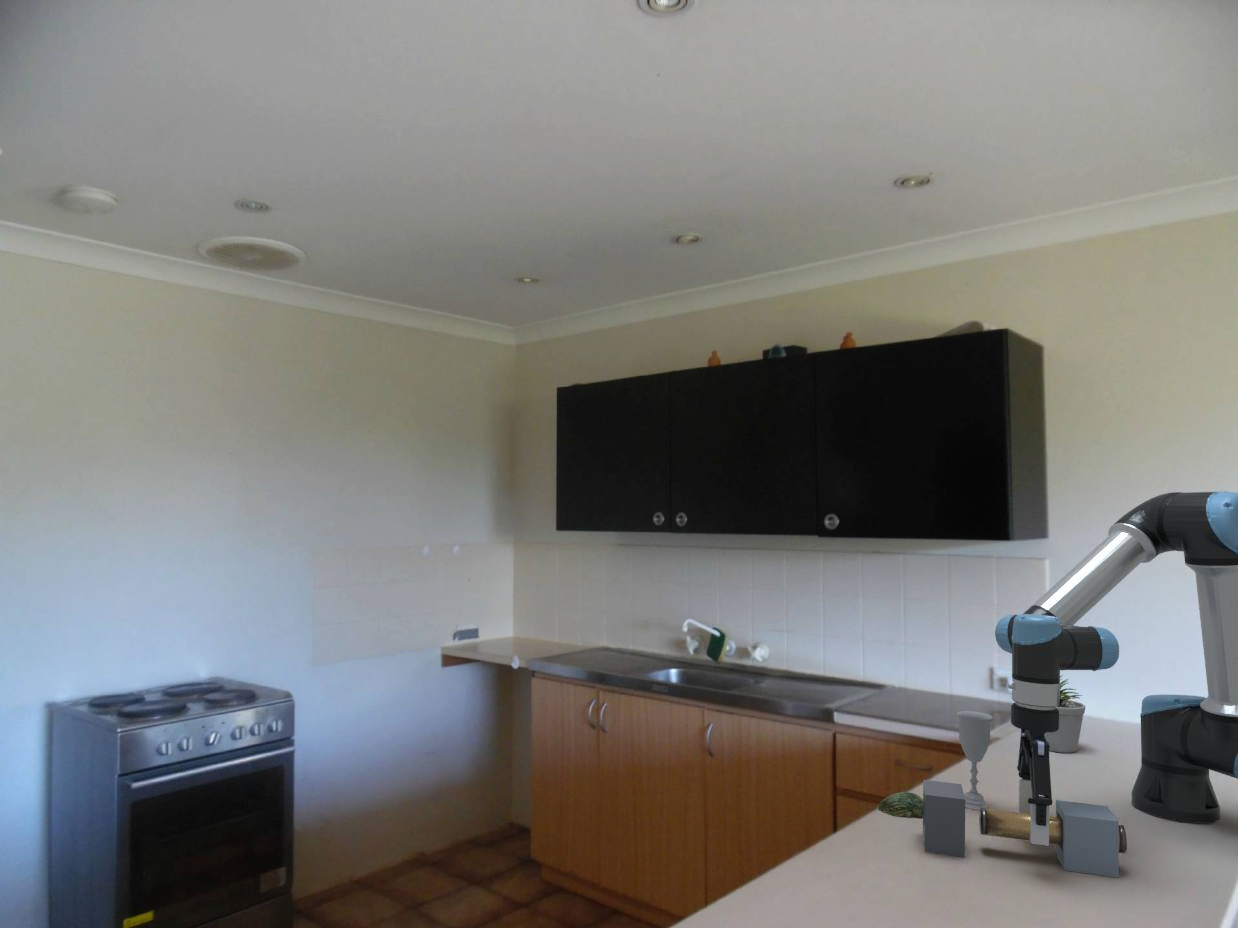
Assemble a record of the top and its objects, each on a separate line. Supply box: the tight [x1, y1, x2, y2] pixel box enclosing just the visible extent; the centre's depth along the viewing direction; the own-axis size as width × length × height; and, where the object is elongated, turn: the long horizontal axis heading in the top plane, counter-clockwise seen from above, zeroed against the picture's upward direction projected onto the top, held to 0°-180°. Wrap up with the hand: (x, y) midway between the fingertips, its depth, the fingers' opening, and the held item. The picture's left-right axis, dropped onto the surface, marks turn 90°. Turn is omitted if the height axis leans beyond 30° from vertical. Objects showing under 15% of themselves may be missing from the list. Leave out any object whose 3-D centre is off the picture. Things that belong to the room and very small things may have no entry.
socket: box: [922, 779, 966, 858], centre depth 153 cm, size 6×9×10 cm
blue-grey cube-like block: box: [1055, 799, 1120, 879], centre depth 147 cm, size 8×8×9 cm
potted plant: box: [1044, 674, 1086, 754], centre depth 221 cm, size 13×14×20 cm
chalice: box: [956, 710, 993, 811], centre depth 175 cm, size 7×7×18 cm
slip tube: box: [978, 807, 1128, 854], centre depth 148 cm, size 22×4×4 cm, turn 73°
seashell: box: [876, 791, 923, 819], centre depth 171 cm, size 10×4×10 cm
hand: (1032, 829), depth 149 cm, fingers open, 13 cm apart
